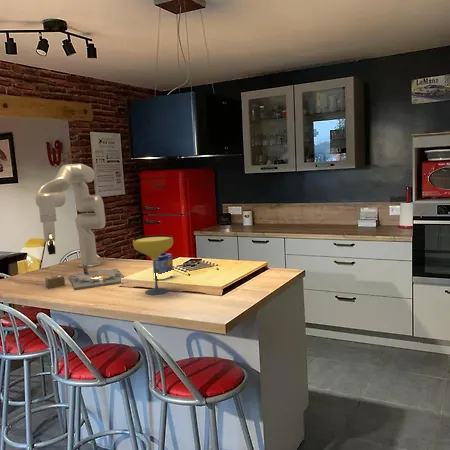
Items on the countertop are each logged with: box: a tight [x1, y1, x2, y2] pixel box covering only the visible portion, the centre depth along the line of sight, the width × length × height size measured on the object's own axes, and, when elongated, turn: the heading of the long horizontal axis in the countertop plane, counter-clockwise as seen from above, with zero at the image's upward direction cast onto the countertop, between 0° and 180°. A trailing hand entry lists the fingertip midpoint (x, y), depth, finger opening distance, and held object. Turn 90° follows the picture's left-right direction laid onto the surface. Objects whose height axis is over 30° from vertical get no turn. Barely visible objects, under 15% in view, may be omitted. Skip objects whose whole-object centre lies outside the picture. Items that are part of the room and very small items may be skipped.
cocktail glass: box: [132, 234, 174, 296], centre depth 215 cm, size 18×18×25 cm
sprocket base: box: [68, 268, 126, 291], centre depth 247 cm, size 32×26×3 cm
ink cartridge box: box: [152, 251, 174, 274], centre depth 241 cm, size 10×6×14 cm, turn 144°
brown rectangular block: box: [44, 274, 66, 290], centre depth 237 cm, size 5×8×5 cm, turn 126°
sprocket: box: [73, 264, 121, 283], centre depth 246 cm, size 24×24×6 cm
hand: (51, 252), depth 235 cm, fingers open, 9 cm apart
